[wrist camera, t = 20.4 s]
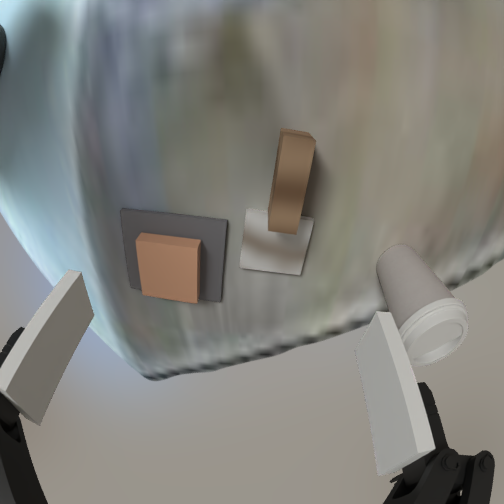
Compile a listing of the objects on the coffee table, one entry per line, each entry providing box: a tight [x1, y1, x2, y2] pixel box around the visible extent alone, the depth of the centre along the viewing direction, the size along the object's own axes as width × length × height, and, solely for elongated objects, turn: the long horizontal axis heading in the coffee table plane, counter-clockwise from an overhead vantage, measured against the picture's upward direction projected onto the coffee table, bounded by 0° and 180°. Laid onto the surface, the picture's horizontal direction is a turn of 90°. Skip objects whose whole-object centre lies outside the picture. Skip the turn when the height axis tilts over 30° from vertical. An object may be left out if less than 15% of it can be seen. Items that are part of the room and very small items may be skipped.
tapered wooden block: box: [239, 128, 316, 275], centre depth 31 cm, size 18×8×5 cm, turn 173°
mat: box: [120, 208, 227, 302], centre depth 38 cm, size 13×14×1 cm
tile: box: [136, 232, 201, 304], centre depth 37 cm, size 2×8×9 cm
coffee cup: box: [376, 244, 468, 366], centre depth 31 cm, size 10×10×15 cm
